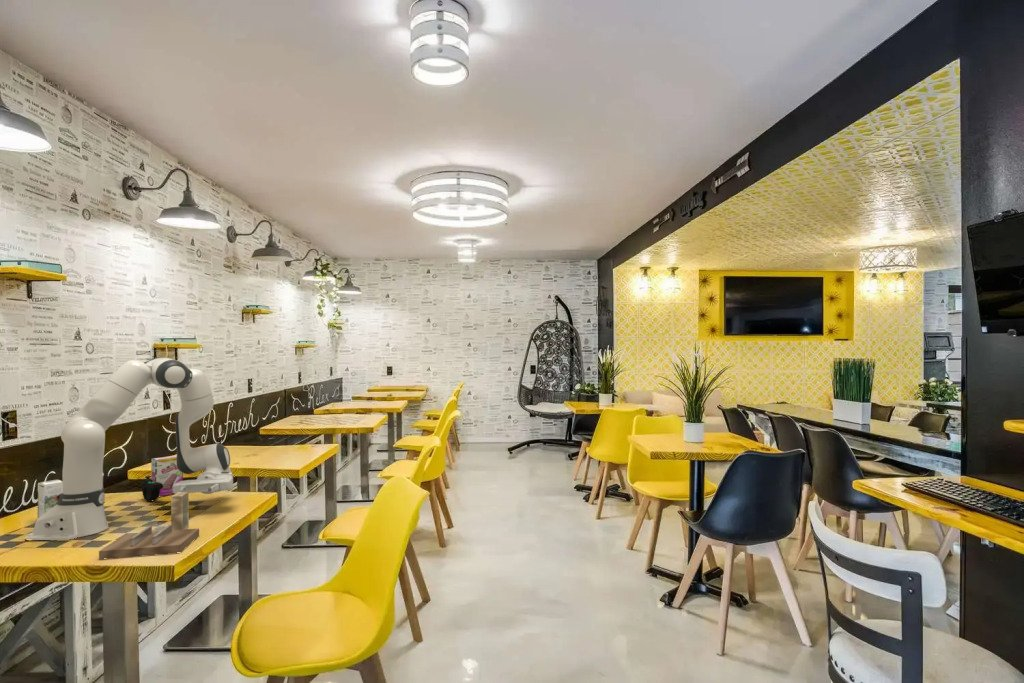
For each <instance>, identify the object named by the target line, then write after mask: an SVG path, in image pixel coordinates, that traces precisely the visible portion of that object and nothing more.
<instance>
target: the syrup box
mask: <svg viewBox="0 0 1024 683" xmlns="http://www.w3.org/2000/svg"><path fill="white" fill-rule="evenodd" d="M61 493H63V480H60V479H53V480H52V479H51V480H47V481H41V482H40V481H39V482H38V483H37V519H38V518H39V517H40V516H42V515H43V514H44V513H46V512H47V511H48V510H50V509H51V508H52V507H54V506H55V505H57V504H56V503H57V500H55V501H54V499H55V498H54V497H56V496H57V495H59V494H61Z"/></svg>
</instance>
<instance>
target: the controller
mask: <svg viewBox="0 0 1024 683" xmlns="http://www.w3.org/2000/svg"><path fill="white" fill-rule="evenodd" d="M140 484H141V492H142V497H143V498H144V500H145V501H146V500H147V501H146V502H153V501H152V500H154V501H156V500H158V499H159V498H160V497H159V494H160V489H162V488H163V484H162V483H159V482H156V481H153V480H152V479H151V475H147V476H145V479H144V480H143V481H141V482H140Z"/></svg>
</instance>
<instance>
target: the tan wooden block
mask: <svg viewBox="0 0 1024 683" xmlns="http://www.w3.org/2000/svg"><path fill="white" fill-rule="evenodd" d="M189 498H190V497H189V493H188V492H178V493H176V494H173V495H171V497H170V507H171V508H170V511H171V512H170V513H171V514H170V515H171V516H170V517H171V519H170V520H171V521H170V522H171V523H170V525H172V530H184V529H188V528H189V529H190V527H189V526H190V525H189V523H190V521H189V513H190V512H189V510H190V509H189V508H190V507H189V506H190V503H189Z"/></svg>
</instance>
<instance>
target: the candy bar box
mask: <svg viewBox="0 0 1024 683" xmlns="http://www.w3.org/2000/svg"><path fill="white" fill-rule="evenodd" d="M150 464H151V470H150V471H151V472H150V473H151V474H150V476H151V477H150V479H152V480H153V481H156V482H159V483H162V484H163V488H162V489H160V494H159V496H163V497H168V496H171V495H170V494H173V484H175V483H177V482H180V481H184V473H183V472H181V471H179V470H178V468H177V454H176V455H169V456H163V457H161V456H160V457H156V458H151V463H150ZM167 495H168V496H167ZM173 495H174V494H173Z"/></svg>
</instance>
